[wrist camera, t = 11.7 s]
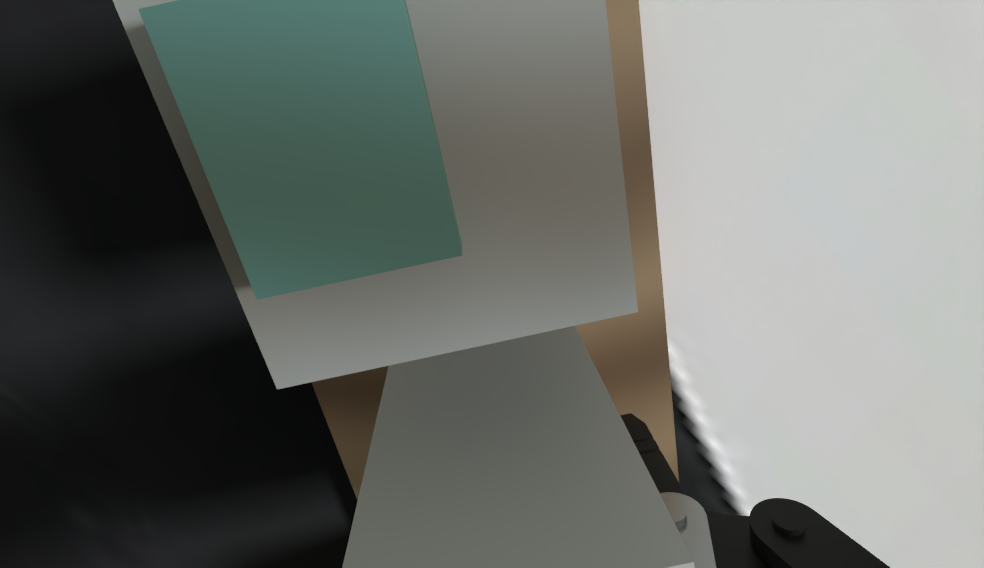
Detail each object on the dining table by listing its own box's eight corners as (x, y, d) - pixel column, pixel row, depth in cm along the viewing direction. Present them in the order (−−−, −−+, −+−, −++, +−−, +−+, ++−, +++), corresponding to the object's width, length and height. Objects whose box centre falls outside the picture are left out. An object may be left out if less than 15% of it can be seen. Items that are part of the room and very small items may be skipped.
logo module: (555, 286, 14) (713, 600, 6) (587, 477, 17) (732, 900, 8) (399, 320, 15) (315, 685, 6) (455, 505, 17) (457, 956, 8)
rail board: (187, 13, 14) (-469, -162, 4) (616, -82, 14) (1030, -502, 4) (417, 621, 23) (389, 1029, 13) (676, 566, 23) (847, 935, 13)
